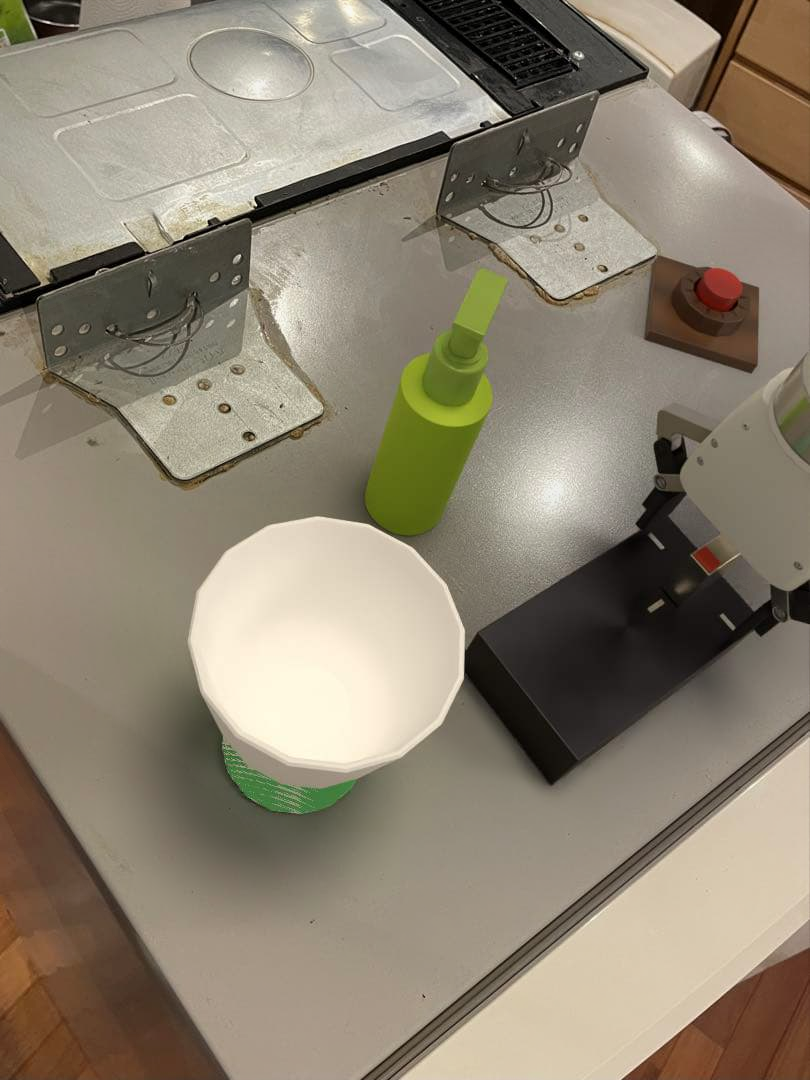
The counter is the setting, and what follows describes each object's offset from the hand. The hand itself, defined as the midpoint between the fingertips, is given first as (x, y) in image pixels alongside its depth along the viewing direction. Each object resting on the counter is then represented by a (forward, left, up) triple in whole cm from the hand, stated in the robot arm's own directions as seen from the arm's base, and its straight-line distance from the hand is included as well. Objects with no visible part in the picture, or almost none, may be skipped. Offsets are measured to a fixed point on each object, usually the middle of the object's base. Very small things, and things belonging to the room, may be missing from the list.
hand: (699, 571), depth 67 cm
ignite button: (-13, -29, -4) cm, 32 cm away
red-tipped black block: (0, 0, -1) cm, 1 cm away
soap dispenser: (+17, -11, -7) cm, 21 cm away
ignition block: (-13, -29, -6) cm, 33 cm away
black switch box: (+6, +3, -6) cm, 9 cm away
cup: (+27, +7, -7) cm, 29 cm away
